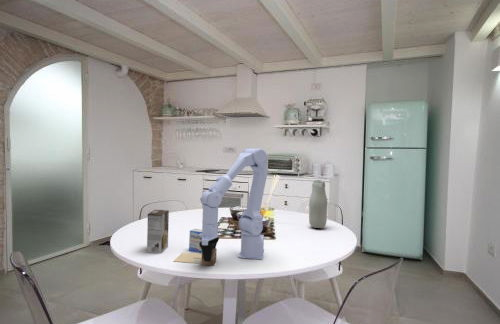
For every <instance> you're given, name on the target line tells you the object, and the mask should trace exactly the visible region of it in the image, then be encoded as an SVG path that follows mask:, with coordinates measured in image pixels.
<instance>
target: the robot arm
mask: <svg viewBox="0 0 500 324" xmlns="http://www.w3.org/2000/svg"><path fill="white" fill-rule="evenodd" d="M268 158H269V154H267V152H266V150H265V149H263V148H261V147H258V148H250V147H246V148H244V149H243V151H242V152H241V153H240V154H239V155H238V157H237V159H236V160H235V162H234V163H233V164H232V165H231V167H230V168H229V169H228V171H227V172H226V174H223V175H220V176H217V177H216V181H215V182H214V183H213V184H212V185H211V186H209V188H208V190H205V191H203V193H202V195H201V197H200V198H199V199H200V200H199V202H200V203H201V204H202V225H201V226H202V227H201V230H202V233H200V234H199V236H201V237H202V241H201V242H200V243H199V245H200V247H201V249H202V252H203V257H204V261H208V262H210V260H211V256H212V250H213V248H216V247H217V245H218V242H219V241H220V237H219V234H218V228H219V227H218V226H219V225H218V224H219V221H218V220H219V207H220V205H221V203H222V200H223V197H224V195H226V193H227V192H228V191H229V190H230V188H231V187H232V186H233V181H234V179H236V177H237V176H238V175H239V174H240V173H241V172H242V171H243V170H244V169H245V168H246V167H250V169H252V171H253V176H252V182H251V186H250V192H249V196H248V202H247V206H246V209H245V210H244V211H243V212H242V213H241V217H240V218H239V220H238V225H237V226H238V228H239V230H240V233H241V235H240V236H241V237H240V238H241V239H240V241H241V242H240V252H239V255H238V258H241V259H253V260H263V258H264V257H263V256H264V254H265V249H264V245H265V244H264V243H265V235H264V234H261V233H262V231H263V229H264V225H263V221H264V219H263V217H264V216H263V215H262V214H261V206H262V202H263V197H264V192H265V186H266V182H267V177H268V172H269V168H268ZM216 249H217V248H216Z"/></svg>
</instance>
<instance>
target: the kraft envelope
mask: <svg viewBox="0 0 500 324" xmlns="http://www.w3.org/2000/svg"><path fill="white" fill-rule="evenodd" d="M172 262H174V263H176V262H177V263H188V264H200V263H202V253H196V252H194V253H193V252H192V253H191V252H182V253H180V254H179V255H178V256H177V257H176V258H175V259H174V260H173V261H172Z"/></svg>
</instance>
